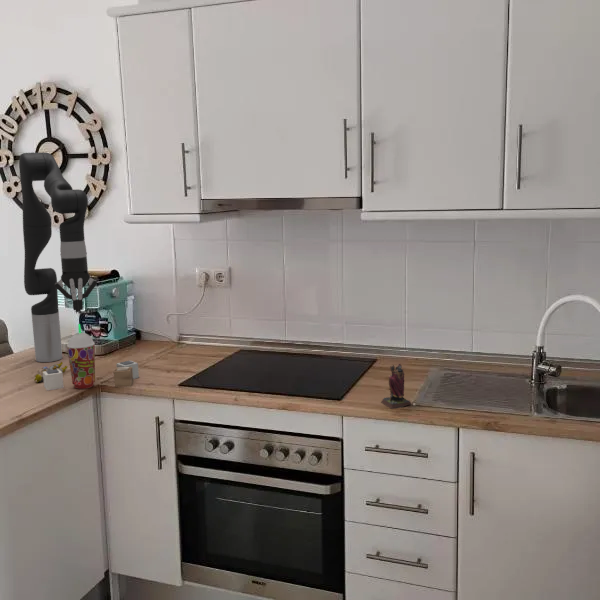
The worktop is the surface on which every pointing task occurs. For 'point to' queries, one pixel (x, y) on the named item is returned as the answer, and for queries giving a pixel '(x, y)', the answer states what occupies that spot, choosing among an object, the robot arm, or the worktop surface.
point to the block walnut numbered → (123, 376)
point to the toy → (40, 376)
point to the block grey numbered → (130, 364)
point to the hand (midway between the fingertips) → (78, 311)
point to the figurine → (396, 389)
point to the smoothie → (82, 359)
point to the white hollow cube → (53, 379)
